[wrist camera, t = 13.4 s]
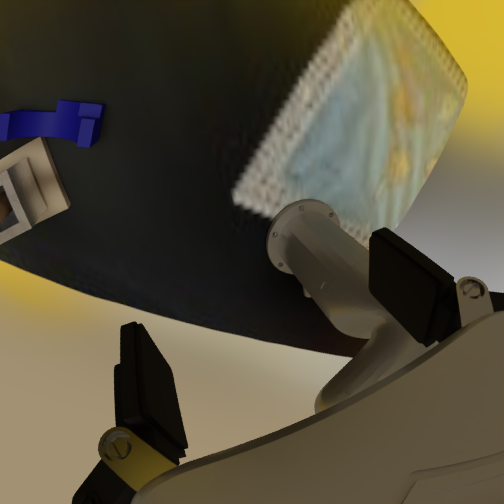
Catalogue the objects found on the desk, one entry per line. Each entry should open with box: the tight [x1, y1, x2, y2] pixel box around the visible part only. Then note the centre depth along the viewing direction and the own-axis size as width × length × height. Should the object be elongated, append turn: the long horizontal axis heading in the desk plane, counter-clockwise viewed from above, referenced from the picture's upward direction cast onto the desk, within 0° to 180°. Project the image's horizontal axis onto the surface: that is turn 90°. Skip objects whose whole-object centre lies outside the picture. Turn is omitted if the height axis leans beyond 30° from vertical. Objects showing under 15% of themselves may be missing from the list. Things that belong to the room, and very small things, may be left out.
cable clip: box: [0, 100, 106, 148], centre depth 26 cm, size 12×4×6 cm, turn 73°
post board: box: [0, 136, 71, 225], centre depth 26 cm, size 10×12×12 cm
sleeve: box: [0, 158, 46, 244], centre depth 26 cm, size 7×7×6 cm
